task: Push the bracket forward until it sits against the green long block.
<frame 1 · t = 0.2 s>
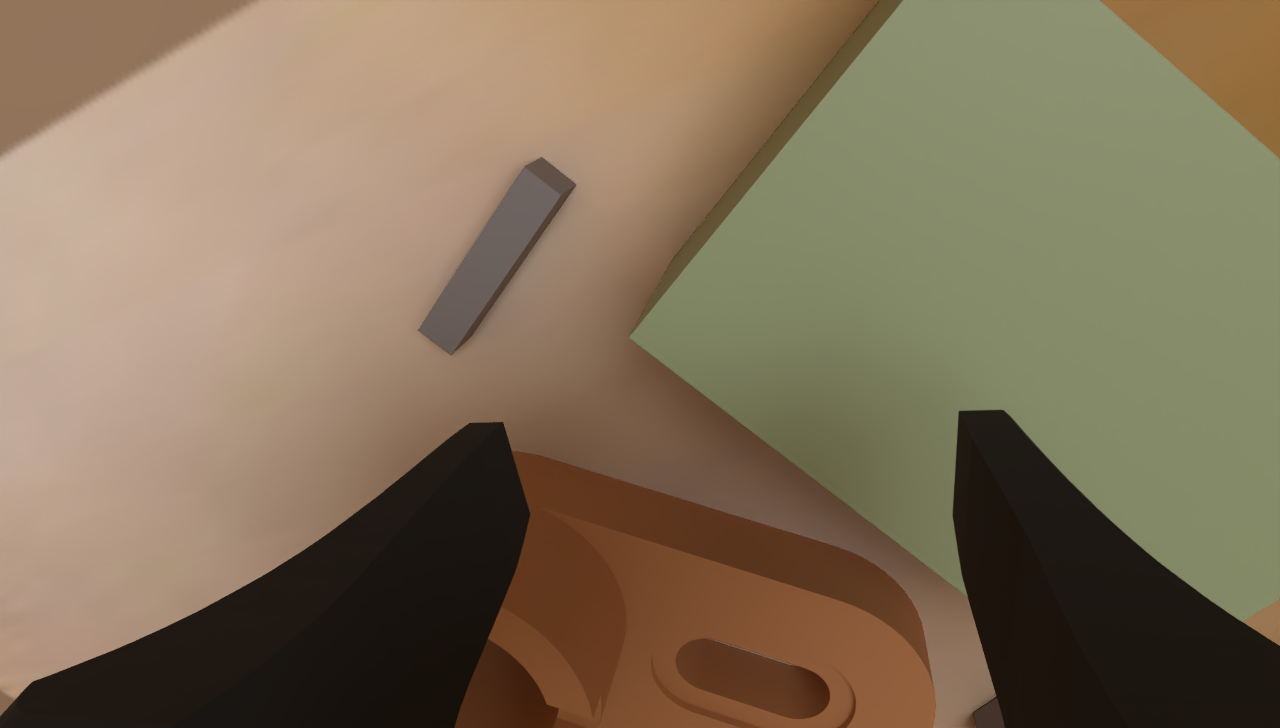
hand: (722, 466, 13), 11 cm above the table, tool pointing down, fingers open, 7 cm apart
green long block: (994, 281, 21), on the table
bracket: (661, 590, 28), on the table
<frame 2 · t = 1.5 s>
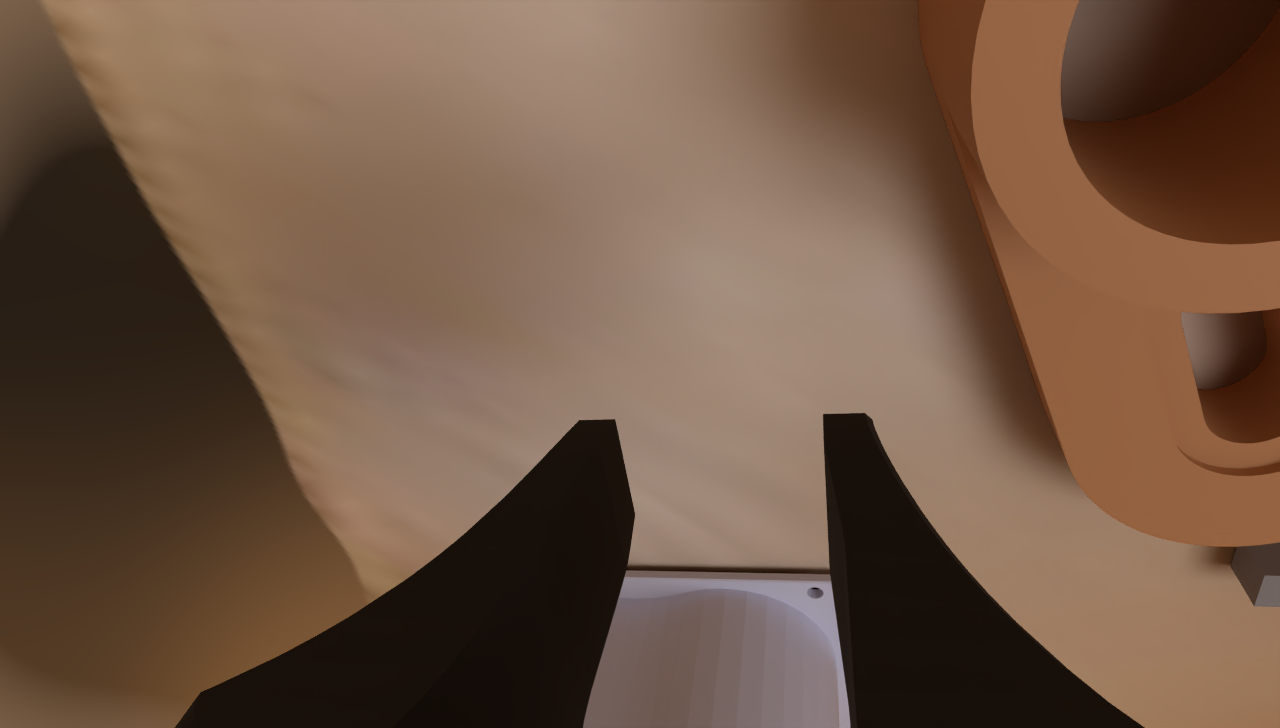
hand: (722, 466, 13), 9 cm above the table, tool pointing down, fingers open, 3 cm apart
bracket: (1172, 179, 19), on the table
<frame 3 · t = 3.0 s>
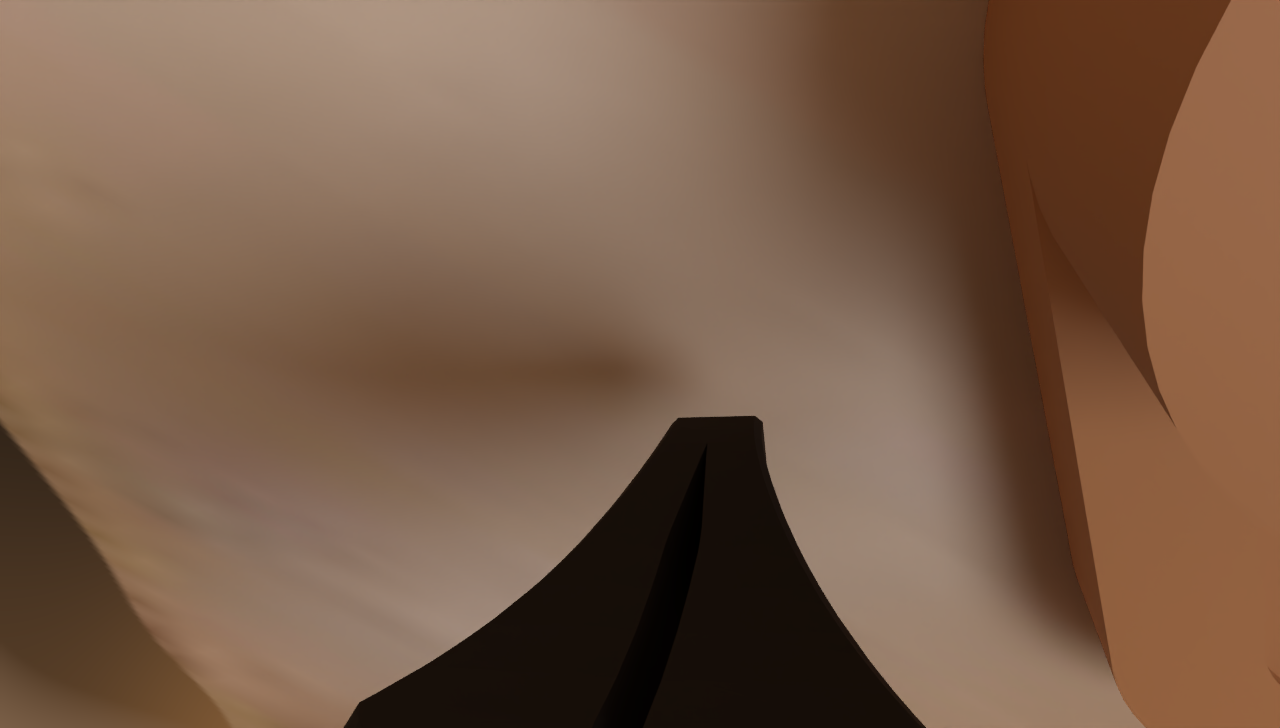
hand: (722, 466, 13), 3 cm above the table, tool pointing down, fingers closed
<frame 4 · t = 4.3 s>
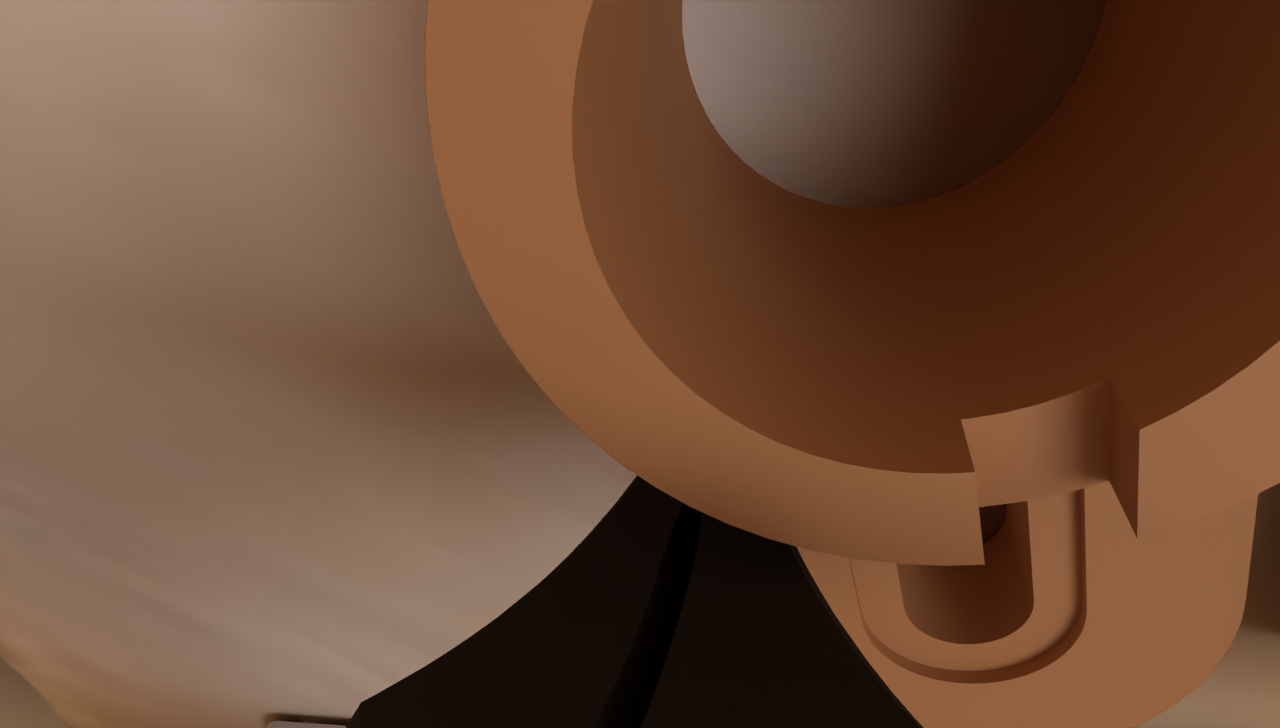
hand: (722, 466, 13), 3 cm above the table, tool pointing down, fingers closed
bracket: (919, 296, 14), on the table, touching gripper
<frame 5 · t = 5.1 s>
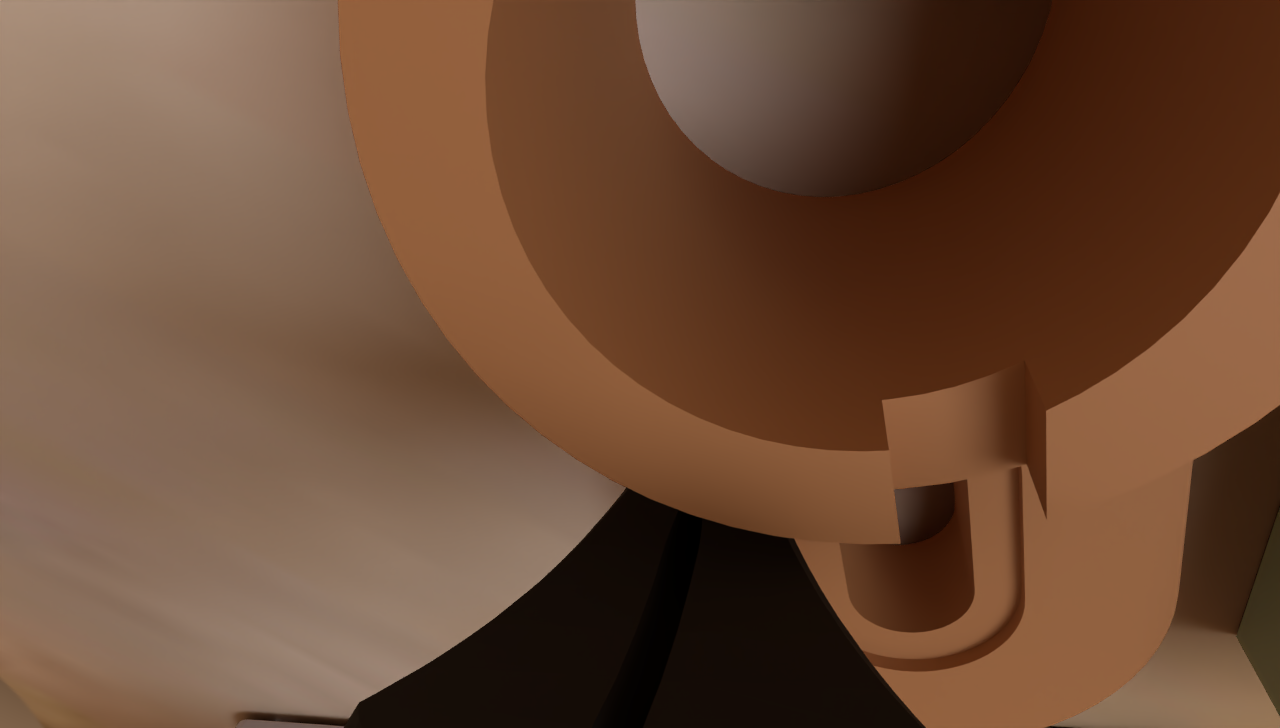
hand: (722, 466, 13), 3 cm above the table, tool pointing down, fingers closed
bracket: (870, 286, 14), on the table
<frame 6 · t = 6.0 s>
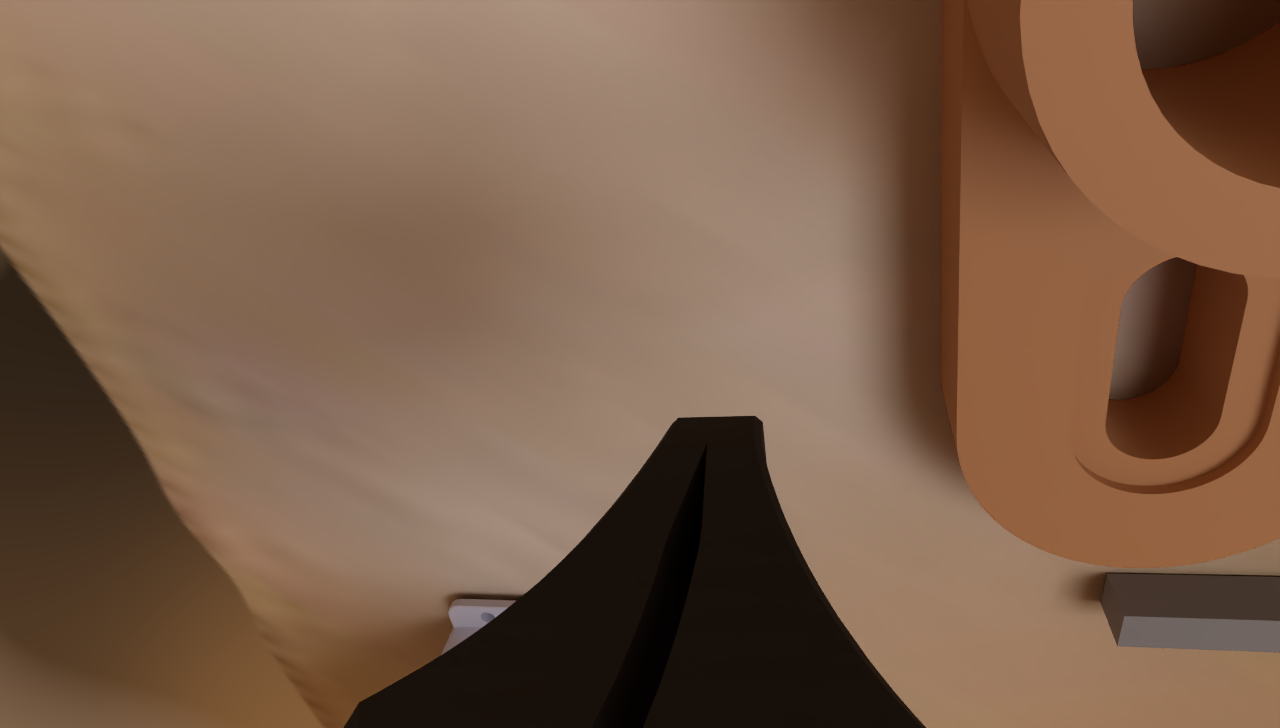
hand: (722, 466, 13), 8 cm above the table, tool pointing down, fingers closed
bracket: (1148, 156, 17), on the table
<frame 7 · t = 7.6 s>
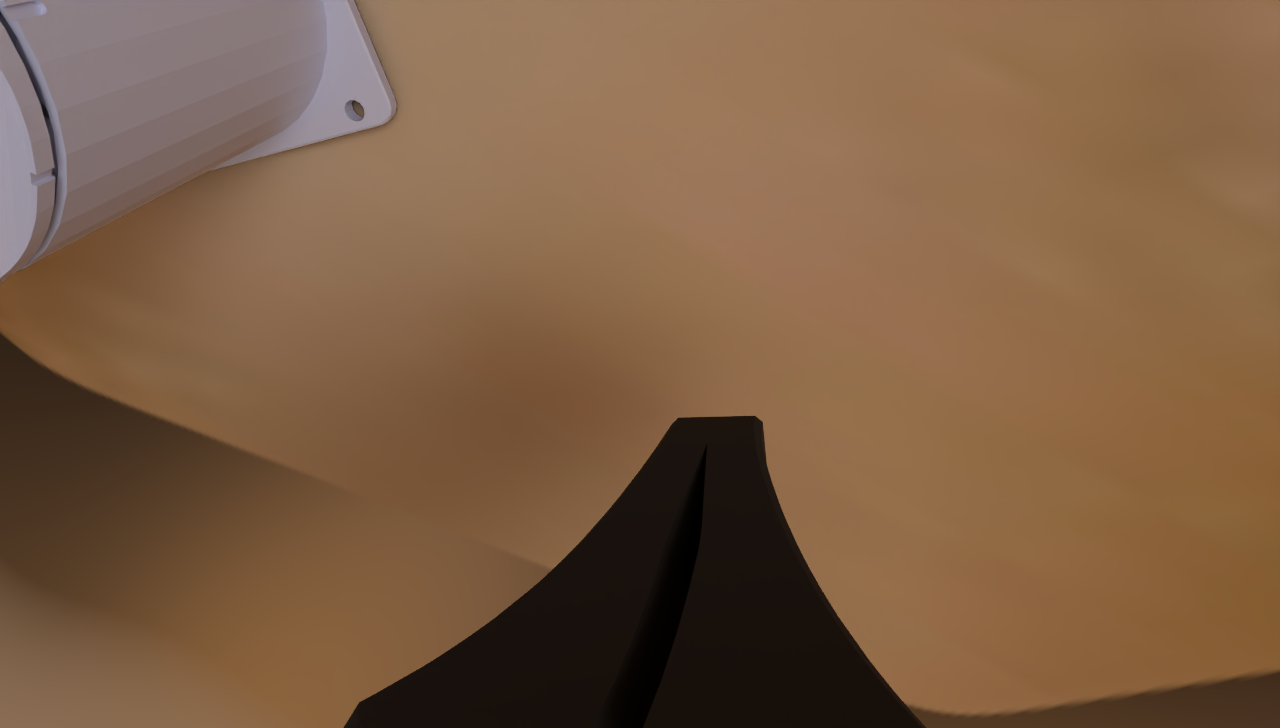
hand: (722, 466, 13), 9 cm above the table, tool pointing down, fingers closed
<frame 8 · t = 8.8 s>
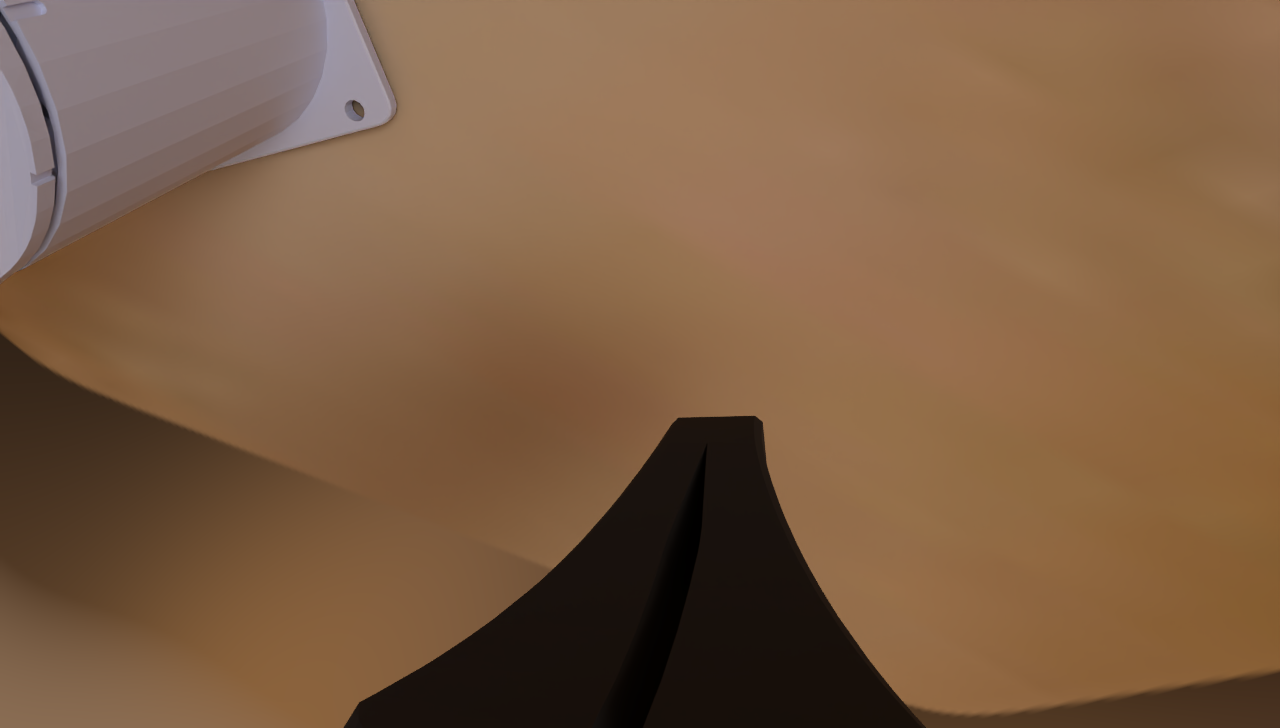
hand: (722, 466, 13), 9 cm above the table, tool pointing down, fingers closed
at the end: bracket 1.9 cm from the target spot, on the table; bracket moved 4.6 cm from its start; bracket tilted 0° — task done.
